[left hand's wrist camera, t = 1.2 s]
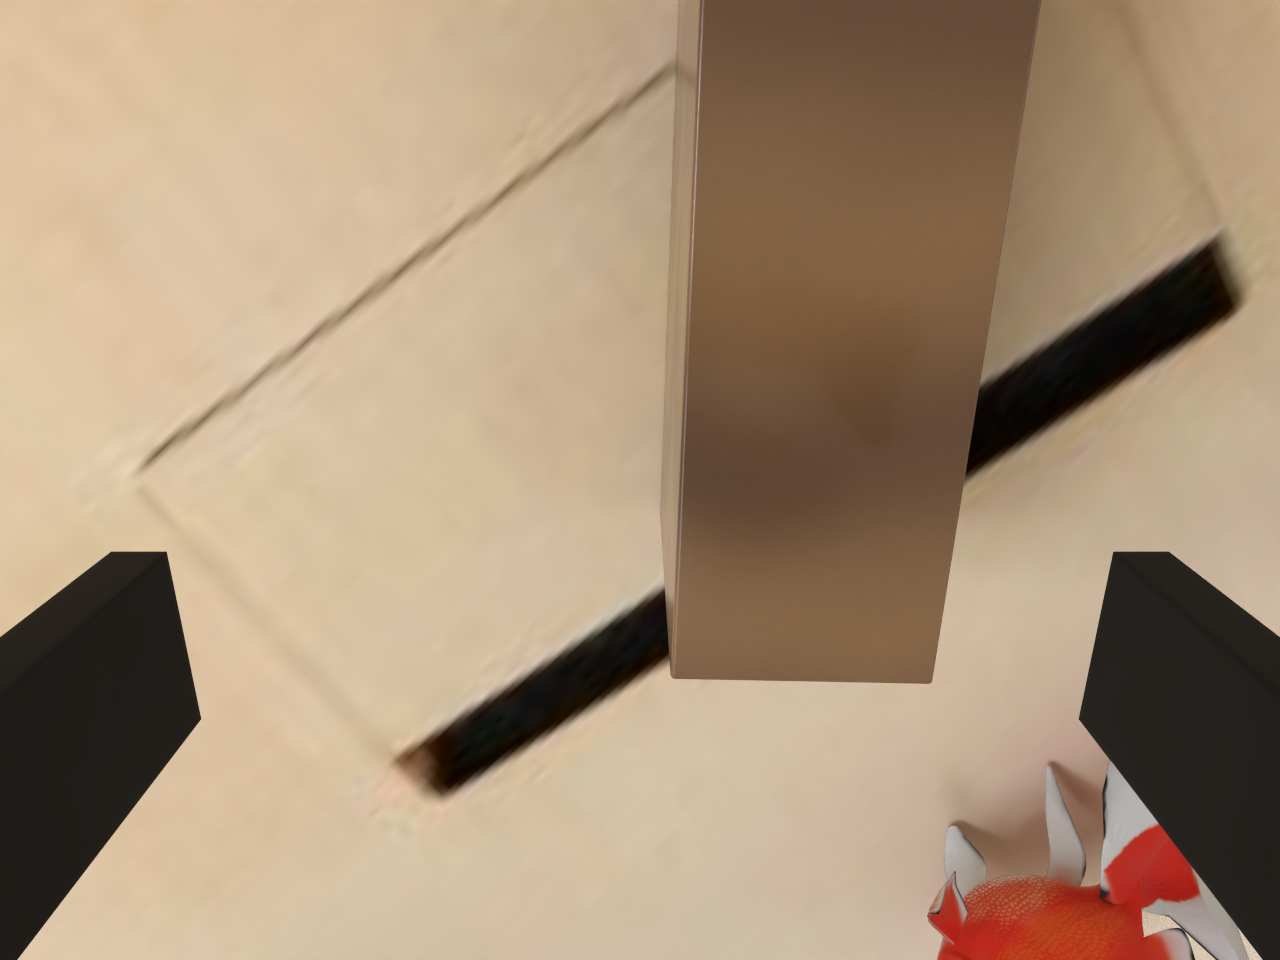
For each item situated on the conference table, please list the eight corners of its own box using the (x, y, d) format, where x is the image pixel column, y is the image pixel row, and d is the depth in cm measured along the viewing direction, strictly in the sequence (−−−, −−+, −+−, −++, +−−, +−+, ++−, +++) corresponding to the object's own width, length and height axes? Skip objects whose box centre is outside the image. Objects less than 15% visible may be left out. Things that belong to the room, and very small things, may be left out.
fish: (791, 852, 28) (1075, 1154, 21) (1110, 553, 32) (1448, 715, 24) (860, 980, 35) (1095, 1245, 27) (1118, 719, 38) (1388, 887, 31)
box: (841, 521, 30) (933, 685, 20) (659, 517, 29) (670, 680, 20) (966, -596, 20) (1239, -1215, 11) (699, -605, 20) (752, -1238, 11)
